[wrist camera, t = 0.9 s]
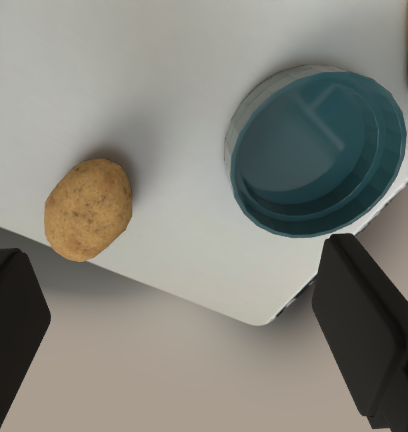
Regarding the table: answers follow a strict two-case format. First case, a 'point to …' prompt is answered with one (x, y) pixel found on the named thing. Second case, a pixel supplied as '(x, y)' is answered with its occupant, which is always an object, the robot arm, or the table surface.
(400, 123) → the teal shallow dish
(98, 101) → the table surface
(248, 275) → the table surface
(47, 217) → the potato
